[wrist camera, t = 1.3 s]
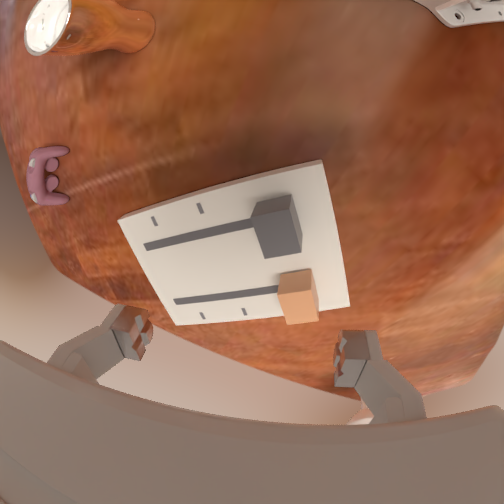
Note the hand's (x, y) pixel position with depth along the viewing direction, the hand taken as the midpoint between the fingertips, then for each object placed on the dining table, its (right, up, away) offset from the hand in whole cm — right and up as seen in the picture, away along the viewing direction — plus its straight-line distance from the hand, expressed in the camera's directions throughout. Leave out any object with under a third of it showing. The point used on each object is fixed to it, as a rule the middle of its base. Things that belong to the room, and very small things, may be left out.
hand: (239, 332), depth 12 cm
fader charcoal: (+4, +7, +21) cm, 23 cm away
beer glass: (-14, +30, +14) cm, 36 cm away
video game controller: (-30, +16, +26) cm, 43 cm away
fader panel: (-2, +3, +28) cm, 28 cm away
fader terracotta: (+7, -1, +26) cm, 27 cm away
